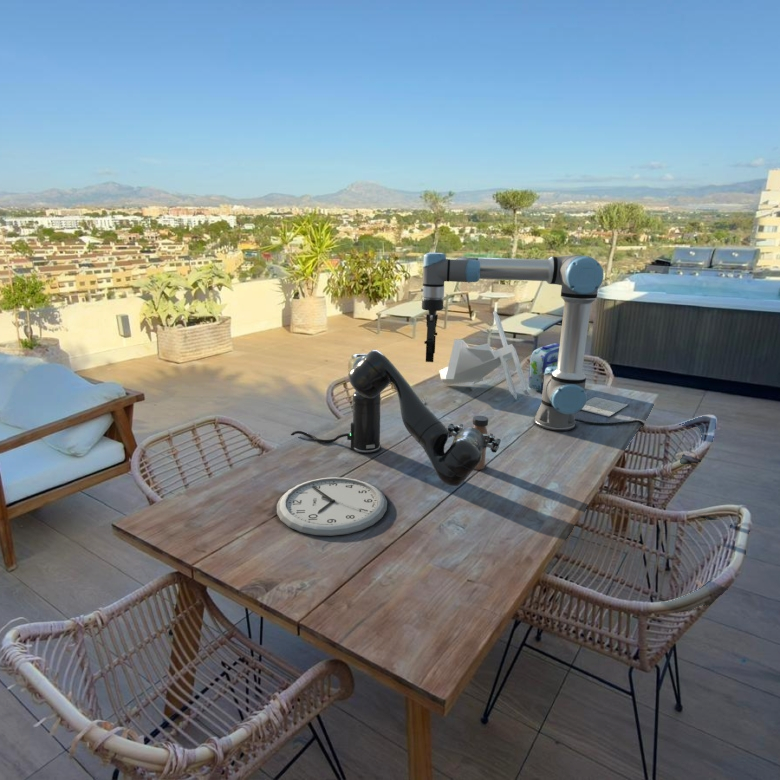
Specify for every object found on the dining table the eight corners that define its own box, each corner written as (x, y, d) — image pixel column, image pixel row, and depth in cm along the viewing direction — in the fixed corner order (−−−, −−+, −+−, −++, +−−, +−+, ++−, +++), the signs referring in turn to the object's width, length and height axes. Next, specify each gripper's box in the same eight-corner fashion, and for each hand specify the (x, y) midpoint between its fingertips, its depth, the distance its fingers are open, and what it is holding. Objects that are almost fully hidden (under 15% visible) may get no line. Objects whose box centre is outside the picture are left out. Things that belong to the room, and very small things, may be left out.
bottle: (484, 463, 170) (487, 417, 165) (485, 470, 165) (488, 422, 160) (469, 462, 170) (472, 416, 165) (469, 469, 166) (473, 421, 161)
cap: (487, 421, 165) (487, 416, 165) (488, 427, 161) (488, 421, 160) (472, 420, 166) (472, 415, 165) (473, 426, 161) (473, 420, 161)
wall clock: (392, 527, 129) (268, 531, 127) (391, 533, 130) (269, 537, 127) (383, 473, 158) (282, 475, 155) (383, 478, 158) (282, 480, 156)
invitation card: (608, 416, 214) (573, 407, 224) (608, 416, 214) (573, 408, 224) (628, 404, 229) (594, 396, 238) (628, 405, 229) (594, 397, 238)
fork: (410, 411, 216) (410, 407, 215) (421, 400, 230) (421, 396, 229) (416, 412, 215) (416, 408, 214) (427, 401, 229) (427, 396, 228)
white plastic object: (461, 429, 252) (437, 405, 227) (444, 352, 274) (420, 323, 250) (535, 404, 240) (518, 377, 215) (510, 326, 262) (492, 293, 237)
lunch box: (544, 395, 239) (549, 351, 233) (524, 390, 247) (528, 347, 240) (571, 384, 257) (577, 343, 251) (552, 380, 264) (556, 339, 258)
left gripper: (437, 450, 132) (447, 436, 148) (491, 468, 129) (497, 452, 145) (445, 422, 131) (455, 411, 146) (500, 440, 128) (504, 427, 143)
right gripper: (424, 293, 195) (422, 349, 202) (419, 302, 172) (417, 365, 178) (444, 294, 195) (441, 350, 201) (442, 303, 171) (439, 366, 177)
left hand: (476, 432), depth 145 cm, fingers open, 8 cm apart
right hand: (430, 357), depth 190 cm, fingers open, 13 cm apart
